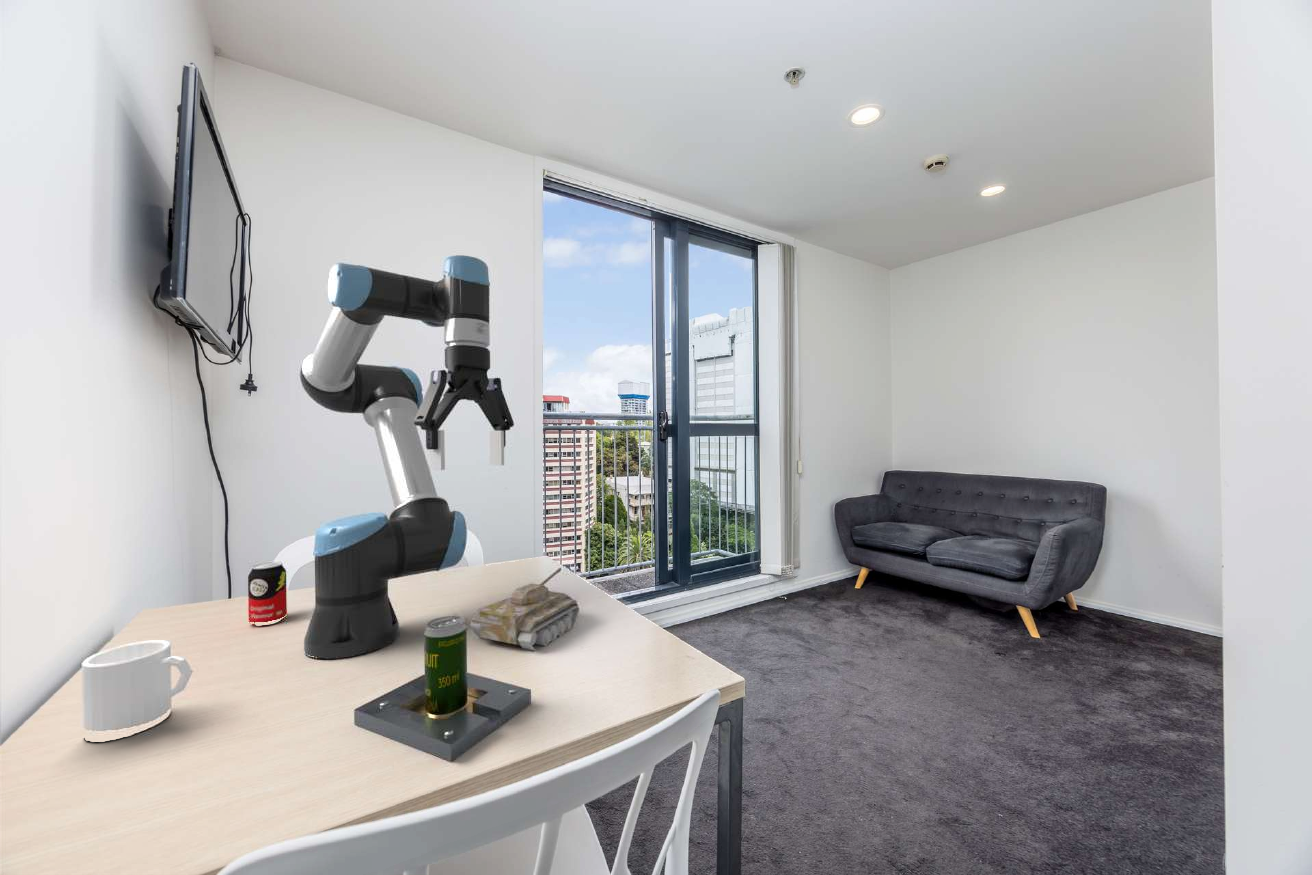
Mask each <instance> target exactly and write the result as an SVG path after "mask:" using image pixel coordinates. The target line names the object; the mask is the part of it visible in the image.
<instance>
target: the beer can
mask: <svg viewBox="0 0 1312 875" xmlns="http://www.w3.org/2000/svg"><path fill="white" fill-rule="evenodd" d="M465 622H466V620H465V618H464V617H463V616H459V615H448V616H447V615H446V616H441V617H437V618H434V619H431V620H429V621H427V623H426V624H425V629H424V632H423V638H424V639H423V646H424V647H423V649H424V650H423V652H424V674H425V711H426V713H427V715H428V716H429V717H431V718H434V719H438V720H439V719H446V718H448V717H450V716H451V715H453V714H454V713H456V712H458V711H459V710H464V708H465V706H466V704H467V673H468V657H467V656H468V653H467V652H468V651H467V650H468V645H467V644H468V642H467V641H468V640H467V636H468V635H467V633H468V632H467V624H466V623H465Z"/></svg>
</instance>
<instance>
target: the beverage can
mask: <svg viewBox="0 0 1312 875" xmlns="http://www.w3.org/2000/svg"><path fill="white" fill-rule="evenodd" d="M247 595H248V598H247V599H248V605H247V606H248V607H247V608H248V610H247V611H248V622H249V623H250V622H254V623H255V622H268V621H272V620H277V619H280V618H282V617H284V616H285V615H286V614H287V611H288V610H287V609H288V605H287V603H288V602H287V600H288V599H287V570H286V568H285V567H284V565H283V562H280V561H272V562H263V563H258V564H255V565H252V566H251V571H250V572H249V574H248V576H247ZM286 616H287V615H286ZM286 616H285V617H286ZM285 617H284V618H285Z"/></svg>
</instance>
